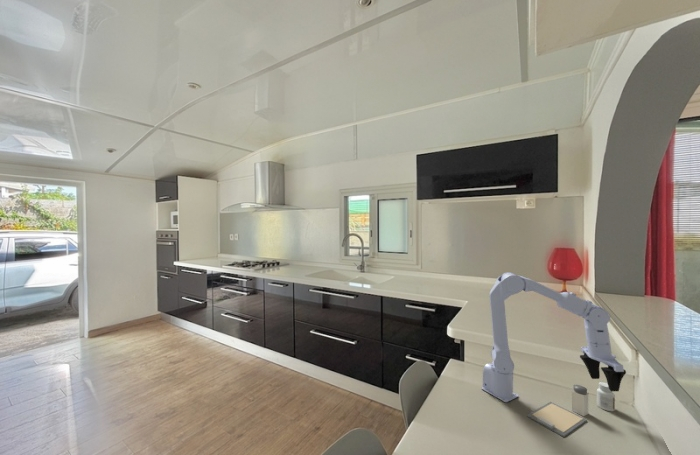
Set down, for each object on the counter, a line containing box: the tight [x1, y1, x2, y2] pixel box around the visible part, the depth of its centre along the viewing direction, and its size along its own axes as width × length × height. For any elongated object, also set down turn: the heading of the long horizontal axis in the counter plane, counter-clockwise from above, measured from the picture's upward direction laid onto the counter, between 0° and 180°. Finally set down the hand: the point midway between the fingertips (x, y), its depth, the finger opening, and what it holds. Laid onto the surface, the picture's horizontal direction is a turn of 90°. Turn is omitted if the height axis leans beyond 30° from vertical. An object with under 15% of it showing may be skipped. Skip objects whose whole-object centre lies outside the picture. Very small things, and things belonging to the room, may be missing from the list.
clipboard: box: [526, 401, 588, 438], centre depth 85 cm, size 10×15×1 cm, turn 119°
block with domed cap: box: [571, 384, 589, 417], centre depth 88 cm, size 3×3×8 cm
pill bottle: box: [596, 381, 616, 412], centre depth 91 cm, size 4×4×8 cm
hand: (604, 384), depth 87 cm, fingers open, 7 cm apart
